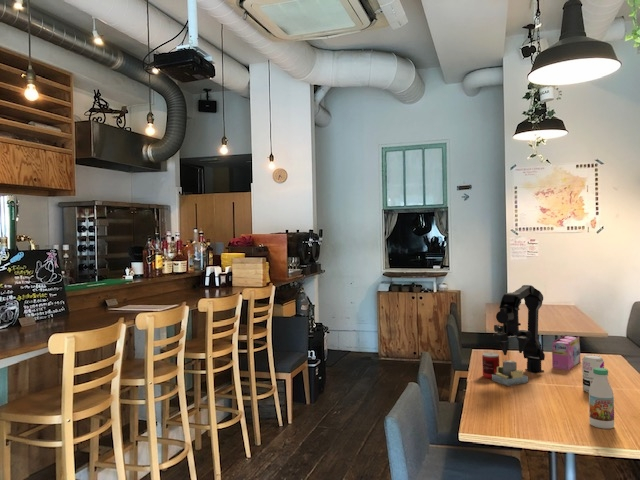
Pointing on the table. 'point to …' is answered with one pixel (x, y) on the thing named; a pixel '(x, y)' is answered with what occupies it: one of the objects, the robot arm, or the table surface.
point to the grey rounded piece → (509, 367)
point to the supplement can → (590, 369)
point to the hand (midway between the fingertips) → (512, 354)
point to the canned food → (490, 364)
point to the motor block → (515, 378)
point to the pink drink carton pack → (565, 352)
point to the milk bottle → (601, 400)
